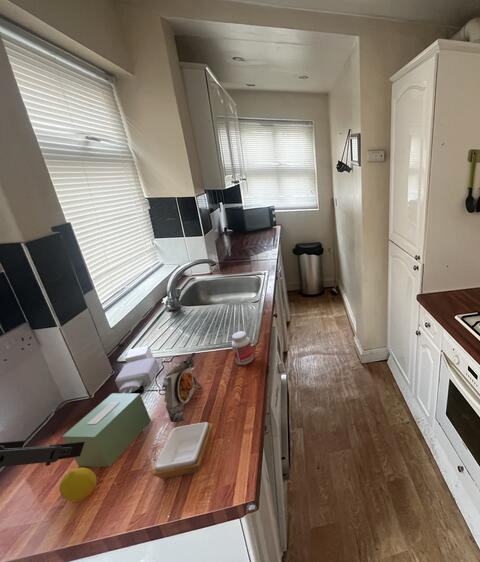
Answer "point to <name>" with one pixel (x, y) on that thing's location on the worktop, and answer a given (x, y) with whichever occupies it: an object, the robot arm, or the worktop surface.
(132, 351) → the white cube
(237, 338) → the pill bottle
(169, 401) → the meal
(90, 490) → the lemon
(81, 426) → the tissue box
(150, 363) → the charger
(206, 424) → the soap dish
